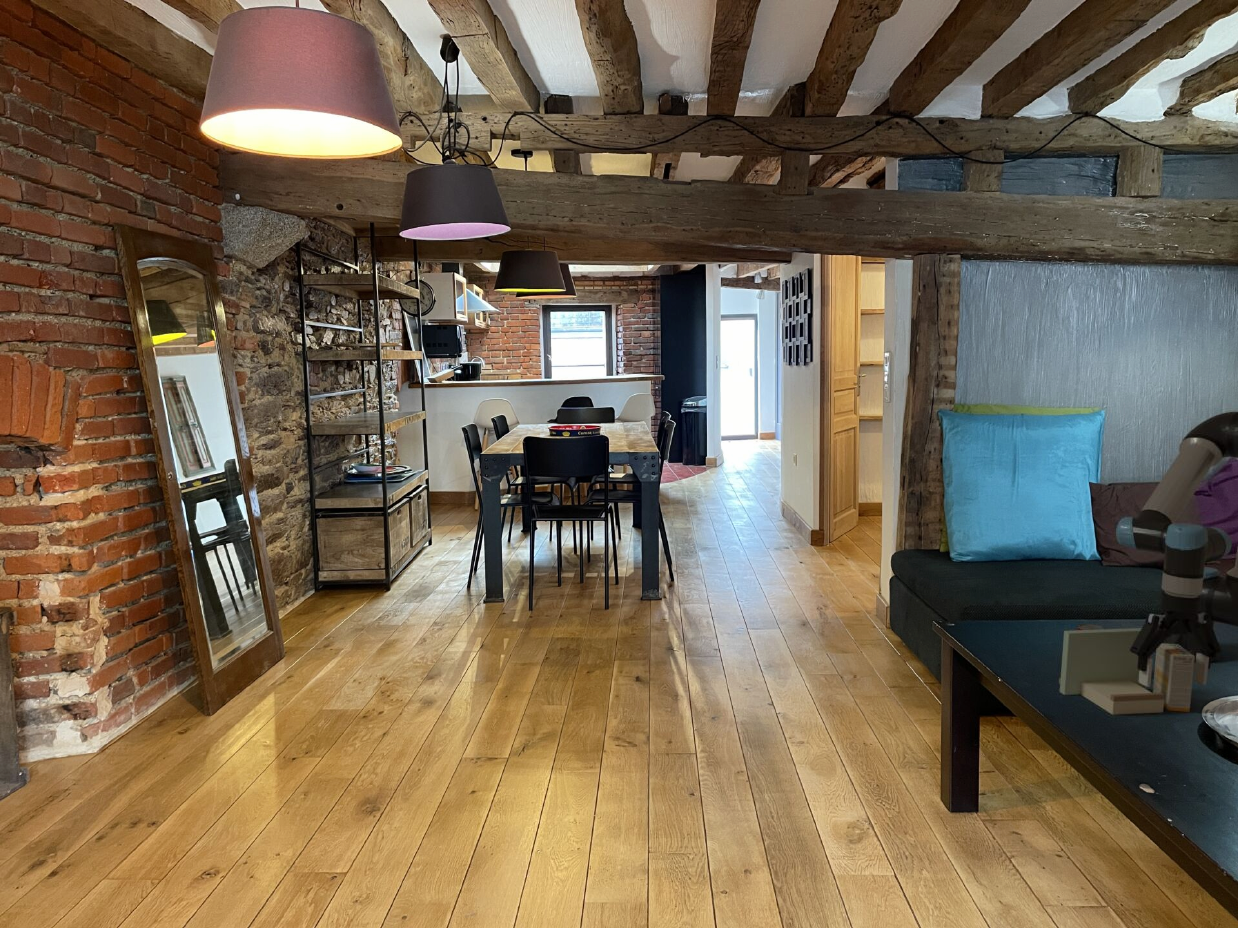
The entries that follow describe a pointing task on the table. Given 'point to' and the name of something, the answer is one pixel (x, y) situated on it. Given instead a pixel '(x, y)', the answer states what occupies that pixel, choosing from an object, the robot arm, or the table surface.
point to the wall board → (1106, 671)
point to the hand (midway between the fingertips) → (1172, 683)
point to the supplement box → (1174, 676)
